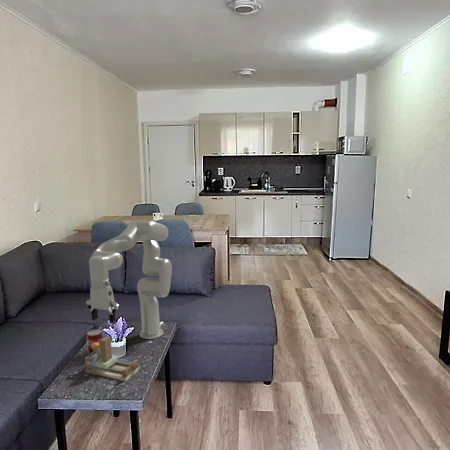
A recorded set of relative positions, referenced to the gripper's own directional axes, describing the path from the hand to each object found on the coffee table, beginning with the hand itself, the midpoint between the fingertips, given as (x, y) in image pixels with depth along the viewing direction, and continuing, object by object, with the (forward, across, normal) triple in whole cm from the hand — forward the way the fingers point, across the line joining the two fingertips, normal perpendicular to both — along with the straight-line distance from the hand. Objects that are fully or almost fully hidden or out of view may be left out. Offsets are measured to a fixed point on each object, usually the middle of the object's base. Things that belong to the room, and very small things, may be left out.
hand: (103, 320), depth 178 cm
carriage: (+21, 0, +1) cm, 21 cm away
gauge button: (+17, +6, 0) cm, 18 cm away
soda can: (+24, +14, -8) cm, 29 cm away
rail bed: (+23, -3, +1) cm, 24 cm away
